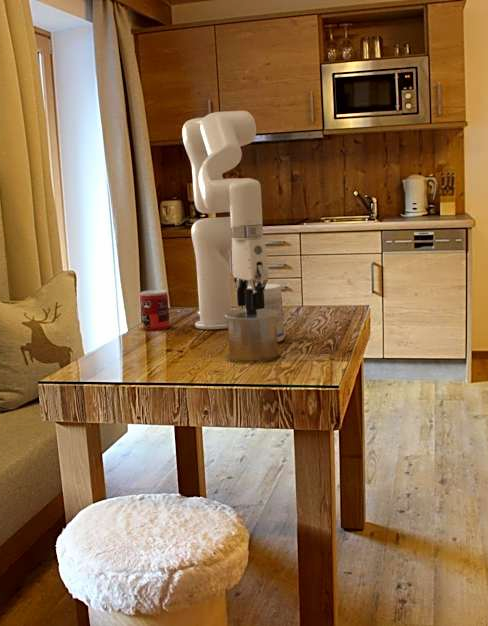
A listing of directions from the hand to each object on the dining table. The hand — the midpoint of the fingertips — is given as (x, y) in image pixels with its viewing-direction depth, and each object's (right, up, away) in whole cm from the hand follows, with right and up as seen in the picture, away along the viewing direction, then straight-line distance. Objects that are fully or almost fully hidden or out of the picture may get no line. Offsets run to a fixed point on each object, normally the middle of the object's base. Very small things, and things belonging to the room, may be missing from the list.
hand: (250, 306), depth 199 cm
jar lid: (0, -2, 0) cm, 2 cm away
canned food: (-25, -6, +47) cm, 54 cm away
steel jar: (+1, -12, +2) cm, 13 cm away
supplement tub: (+5, -9, +20) cm, 22 cm away
